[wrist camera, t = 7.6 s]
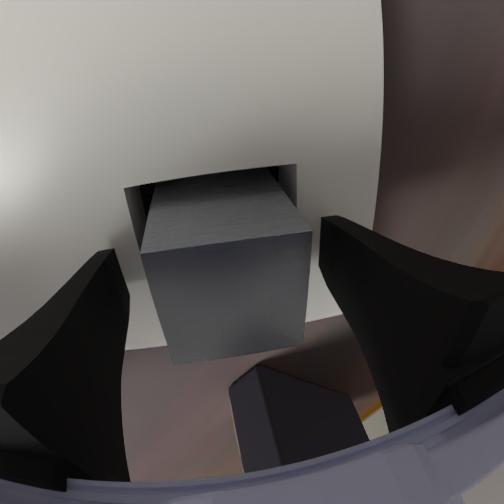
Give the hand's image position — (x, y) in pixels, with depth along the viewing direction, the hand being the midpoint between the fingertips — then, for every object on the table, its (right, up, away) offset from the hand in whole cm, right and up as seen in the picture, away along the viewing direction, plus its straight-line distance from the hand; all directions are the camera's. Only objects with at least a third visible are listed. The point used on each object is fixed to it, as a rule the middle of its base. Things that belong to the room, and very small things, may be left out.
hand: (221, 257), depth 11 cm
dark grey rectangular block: (+4, -10, +11) cm, 16 cm away
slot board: (-4, +4, 0) cm, 5 cm away
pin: (-1, +2, +2) cm, 3 cm away
